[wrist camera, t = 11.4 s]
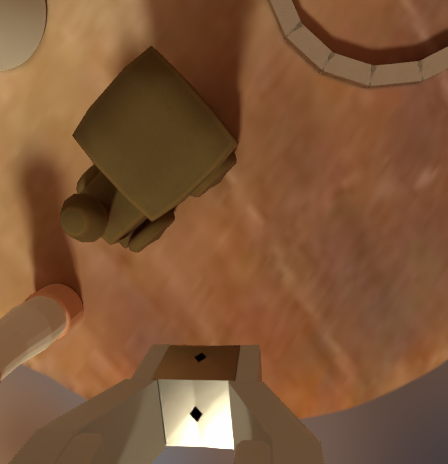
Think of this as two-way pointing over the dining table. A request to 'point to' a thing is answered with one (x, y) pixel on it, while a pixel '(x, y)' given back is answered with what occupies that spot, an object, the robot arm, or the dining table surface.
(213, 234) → the dining table surface
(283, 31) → the ring
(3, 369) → the salt shaker
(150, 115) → the brown backpack
